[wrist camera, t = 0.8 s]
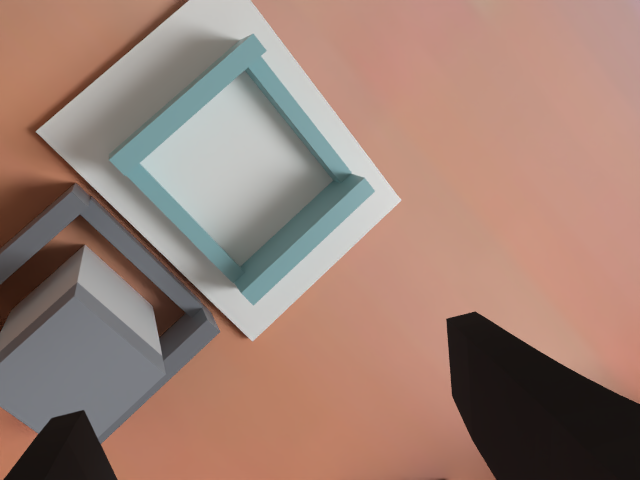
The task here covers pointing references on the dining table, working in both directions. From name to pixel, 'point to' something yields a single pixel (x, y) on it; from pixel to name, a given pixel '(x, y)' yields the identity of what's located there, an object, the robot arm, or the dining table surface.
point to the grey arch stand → (196, 321)
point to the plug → (79, 347)
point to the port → (225, 159)
